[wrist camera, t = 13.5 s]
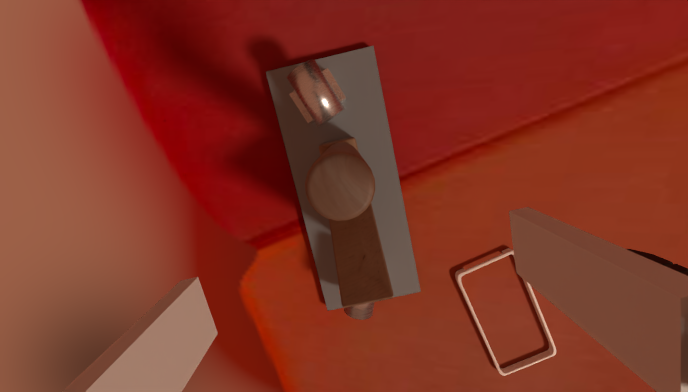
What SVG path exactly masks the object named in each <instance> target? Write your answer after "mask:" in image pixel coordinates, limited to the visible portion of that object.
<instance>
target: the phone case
mask: <svg viewBox="0 0 688 392" xmlns="http://www.w3.org/2000/svg"><path fill="white" fill-rule="evenodd" d="M501 252H502V254H501V255H499V256H496V257H494V258H492V259H489V260H487V261H485V262H483V263H480V264H478V265H476V266H474V267H471V268H469V269H467V270H464V268H462V269H460V270H458V271H456V273H455V278H456V281H457V283H458V285H459V288H460V290H461V292H462V294H463V296H464V299H465V301H466V303H467V305H468V307H469V310H470V312H471V314H472V316H473V318H474V321H475V323H476V325H477V327H478V329H479V332H480V334H481V335H482V337H483V339H484V341H485V344H486V346H487V348H488V350H489V352H490V355H491V357H492V359H493V362H494V365H495V367H496V368H497V370H498V371H499V373H500V374H501V375H503V376H506V375H508V374H511V373H513V372H515V371H518V370H520V369H523V368H525V367H528V366H530V365H533V364H535V363H538V362H540V361H542V360H545V359H547V358H550V357H552V356H554V355H555V354H556V347H555V345H554V342H553V340H552V337H551V335H550V332H549V330H548V327H547V325H546V323H545V320H544V318H543V315H542V313H541V310H540V308H539V305H538V303H537V300H536V298H535V295H534V293H533V290H532V288H531V285H530V284H529V283H528V282H526V281H525V280H524V279H523V278H522V279H523V281H524V284H525V286H526V289H527V291H528V293H529V296H530V298H531V301H532V303H533V306H534V308H535V311H536V313H537V315H538V318H539V320H540V323H541V325H542V328H543V330H544V333H545V335H546V338H547V340H548V342H549V349H548V350H547V351H544V352H542V353H539V354H537V355H535V356H532V357H530V358H527V359H525V360H522V361H520V362H517V363H515V364H512V365H510V366H508V367H505V368H500V367H499V365H498V363H497V361H496V359H495V357H494V354H493V352H492V350H491V348H490V346H489V343H488V341H487V339H486V337H485V334H484V332H483V330H482V328H481V326H480V323H479V321H478V319H477V317H476V314H475V312H474V310H473V308H472V306H471V303H470V301H469V299H468V297H467V295H466V292H465V290H464V288H463V286H462V283H461V277H462V276H463V275H465V274H467V273H469V272H472V271H474V270H476V269H478V268H481V267H483V266H485V265H488V264H490V263H492V262H494V261H497V260H499V259H501V258H503V257H506V256H508V255H510V254H512V255H513V257H514V251H513V250H512V249H510V248H508V249H505V250H503V251H501ZM514 259H515V257H514Z"/></svg>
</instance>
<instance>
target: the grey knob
mask: <svg viewBox="0 0 688 392" xmlns="http://www.w3.org/2000/svg"><path fill="white" fill-rule="evenodd" d="M339 294H340V290H339ZM373 308H374V302H371V303H366V304H361V305H356V306H351V307H346V308H344V311H345V313H346V314H347V315H348V316H350V317H352V318H355V319H360V320H363V319H368V318H370V317H371V316H372V314H373Z"/></svg>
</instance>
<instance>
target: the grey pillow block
mask: <svg viewBox="0 0 688 392" xmlns="http://www.w3.org/2000/svg"><path fill="white" fill-rule="evenodd" d="M287 80H288V81H289V83H290V85H291V86H292V88H293V89H294V91H293V92H292V93H290V94H289V95H290V96H291V98H292V99H293V101H294V103H295V104H296V106H297V107H298V109H299V110H300V112H301V113H302V115H303V116H304V118H305V120H306V121H307V123H309V124H310V123H312V122H313V121H314V122H315V123H316V125H317V127H319V126H321V125H323V124H324V123H326V122H328V121H329V120H331V119H332V118H334V117H335V116H337V115H338V114H339V113H341V112H342V111H343V110H345V108H344V106H343V105H342V102H343V101H345V100H346V97H345V95H344V93H343V92H342V90H341V89H340V87H339V85H338V84H337V82H336V80H335V79H334V77H333V76H332V74H331V72H330V71H329V69H328V68H327V69H325V70H324V71H321V69H320V68H319V66H318V64H317V63H316V61H315V60H314V59H311V60H308V61H306V62H304V63H303V64H301V65H299V66H298V67H297V68H295V69H294V70H293V71H292V72H291V73H290V74H289V75H288V76H287Z"/></svg>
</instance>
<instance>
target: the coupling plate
mask: <svg viewBox="0 0 688 392" xmlns="http://www.w3.org/2000/svg"><path fill="white" fill-rule="evenodd" d="M315 61H316V63H317V64H318V66H319V68H320V69H321V71H324V70H325V69H327V68H328V69H329V71H330V72H331V74H332V76H333V77H334V79H335V80H336V82H337V84H338V85H339V87H340V89H341V90H342V92H343V93H344V95H345V97H346V100H345V101H343V102H342V105H343V106H344V108H345V110H343V111H342V112H341V113H339V114H338V115H337V116H335V117H334V118H332V119H331V120H329V121H328V122H326V123H324V124H323V125H321V126H319V127H317V125H316V123H315V122H314V121H313V122H312V123H310V124H309V123H307V121H306V120H305V118H304V116H303V115H302V113H301V112H300V110H299V109H298V107H297V106H296V104H295V103H294V101H293V99H292V98H291V96H290V95H289V94H290V93H292V92H293V91H294V89H293V88H292V86H291V85H290V83H289V81H288V80H287V76H288V75H289V74H290V73H291V72H292V71H293V70H294V69H295V68H297V67H298V66H299V65H301V64H303V63H300V64H296V65H291V66H287V67H283V68H279V69H275V70H271V71H267V72H266V75H267V79H268V83H269V87H270V91H271V95H272V98H273V102H274V106H275V110H276V114H277V118H278V121H279V125H280V129H281V133H282V137H283V141H284V145H285V148H286V152H287V156H288V160H289V164H290V168H291V172H292V175H293V179H294V183H295V187H296V191H297V195H298V199H299V202H300V206H301V210H302V214H303V218H304V222H305V225H306V229H307V233H308V237H309V241H310V245H311V249H312V252H313V256H314V260H315V264H316V268H317V272H318V276H319V279H320V283H321V287H322V291H323V295H324V299H325V303H326V306H327V310H328V311H329V310H334V309H338V308H343V306H342V303H341V297H340V294H339V283H338V277H337V270H336V263H335V257H334V250H333V243H332V237H331V230H330V224H329V219H328V218H325V217H324V216H322V215H320V214H319V213H317V212H316V211H315V209H314V208H313V207H312V206H311V205H310V203H309V201H308V198H307V196H306V191H305V181H306V177H307V173H308V171H309V169H310V168H311V166H312V165H313V163H314V162H315V161H316V160H317V159H318V158H319V157H320V151H319V146H320V145H321V144H323V143H327V142H331V141H335V140H340V139H344V138H348V137H354V138H355V139H356V143H357V147H358V152H359V153H360V155H361V156H362V157H363V159H364V160H365V161H366V163H367V164H368V166H369V167H370V168H371V170H372V173H373V176H374V178H375V193H374V197H373V200H372V202H371V204H372V208H373V212H374V216H375V220H376V224H377V229H378V233H379V237H380V241H381V245H382V249H383V253H384V257H385V261H386V265H387V269H388V273H389V277H390V282H391V286H392V290H393V297H397V296H402V295H407V294H412V293H416V292H421V291H420V286H419V281H418V275H417V270H416V265H415V260H414V255H413V249H412V244H411V239H410V234H409V229H408V223H407V218H406V213H405V208H404V203H403V198H402V192H401V187H400V182H399V177H398V172H397V166H396V161H395V156H394V151H393V146H392V140H391V135H390V130H389V125H388V120H387V114H386V109H385V104H384V99H383V94H382V88H381V83H380V78H379V73H378V68H377V62H376V57H375V52H374V47H373V46H370V47H366V48H362V49H358V50H354V51H349V52H345V53H341V54H337V55H333V56H329V57H325V58H320V59H316V60H315Z"/></svg>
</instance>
